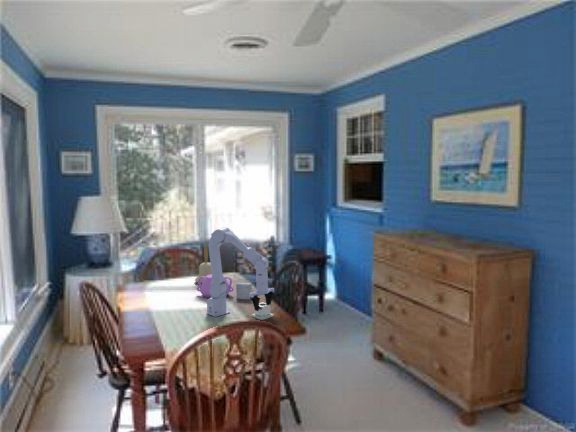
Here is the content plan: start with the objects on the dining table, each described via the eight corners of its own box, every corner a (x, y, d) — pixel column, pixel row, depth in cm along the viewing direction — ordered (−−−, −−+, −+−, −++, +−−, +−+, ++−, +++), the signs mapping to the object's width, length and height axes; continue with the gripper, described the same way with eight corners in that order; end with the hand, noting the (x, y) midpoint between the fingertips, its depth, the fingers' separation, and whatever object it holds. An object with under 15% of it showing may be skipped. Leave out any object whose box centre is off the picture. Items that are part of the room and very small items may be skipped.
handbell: (199, 286, 294) (197, 247, 292) (191, 281, 308) (190, 243, 305) (222, 283, 302) (221, 245, 299) (214, 278, 315) (212, 241, 312)
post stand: (261, 319, 227) (261, 309, 227) (251, 316, 233) (251, 305, 233) (273, 316, 233) (273, 305, 232) (263, 312, 239) (263, 302, 238)
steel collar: (262, 316, 229) (262, 306, 228) (254, 314, 233) (254, 304, 232) (270, 314, 233) (270, 304, 232) (263, 311, 237) (263, 302, 236)
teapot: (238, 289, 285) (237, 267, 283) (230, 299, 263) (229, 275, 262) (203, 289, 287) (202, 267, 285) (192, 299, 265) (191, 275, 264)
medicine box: (252, 297, 267) (251, 283, 266) (249, 299, 262) (249, 284, 262) (239, 297, 269) (239, 282, 268) (236, 299, 265) (236, 284, 264)
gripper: (256, 286, 223) (256, 313, 225) (278, 280, 233) (278, 307, 235) (246, 283, 228) (247, 310, 230) (268, 278, 238) (269, 304, 240)
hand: (262, 308), depth 233 cm, fingers open, 7 cm apart
